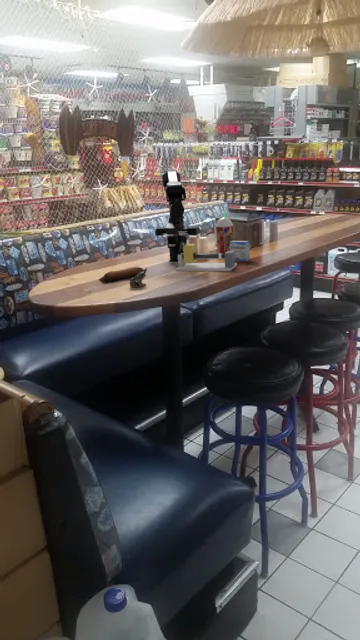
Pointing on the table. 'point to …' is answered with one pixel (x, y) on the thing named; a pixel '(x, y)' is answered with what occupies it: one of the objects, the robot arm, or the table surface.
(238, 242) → the medicine box
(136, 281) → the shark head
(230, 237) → the smoothie
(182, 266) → the cord rig
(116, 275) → the sweet potato
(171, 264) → the table surface
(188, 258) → the sleeve
